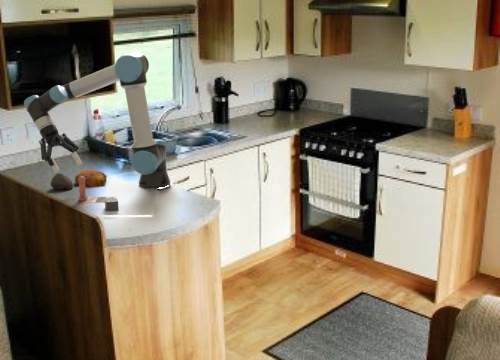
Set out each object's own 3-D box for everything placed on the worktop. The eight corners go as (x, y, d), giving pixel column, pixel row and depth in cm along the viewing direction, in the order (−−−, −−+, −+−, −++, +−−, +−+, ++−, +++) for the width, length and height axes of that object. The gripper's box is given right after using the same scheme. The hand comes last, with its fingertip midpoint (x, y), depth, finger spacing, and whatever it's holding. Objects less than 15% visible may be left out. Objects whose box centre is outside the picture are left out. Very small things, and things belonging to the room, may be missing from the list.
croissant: (91, 194, 293) (91, 178, 290) (69, 184, 301) (69, 168, 298) (113, 186, 305) (114, 171, 302) (91, 177, 312) (92, 162, 309)
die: (117, 208, 267) (116, 197, 265) (118, 212, 262) (118, 201, 261) (105, 209, 265) (104, 198, 264) (106, 213, 261) (106, 202, 259)
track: (115, 198, 280) (115, 196, 280) (113, 204, 272) (113, 202, 272) (80, 198, 279) (79, 196, 278) (76, 204, 271) (76, 202, 271)
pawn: (87, 198, 277) (86, 175, 274) (86, 200, 273) (84, 177, 270) (79, 198, 276) (78, 175, 273) (77, 200, 273) (76, 177, 270)
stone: (71, 193, 299) (58, 177, 300) (79, 183, 294) (65, 167, 295) (57, 201, 291) (43, 185, 292) (64, 191, 286) (50, 175, 287)
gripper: (63, 127, 292) (85, 165, 291) (20, 136, 272) (43, 178, 271) (71, 119, 288) (93, 158, 287) (28, 128, 268) (51, 170, 266)
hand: (69, 168), depth 279 cm, fingers open, 13 cm apart
